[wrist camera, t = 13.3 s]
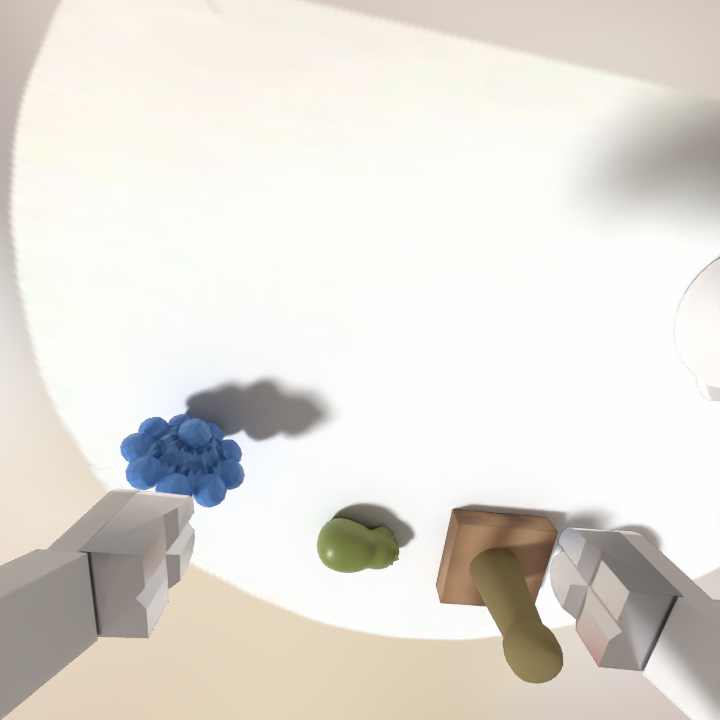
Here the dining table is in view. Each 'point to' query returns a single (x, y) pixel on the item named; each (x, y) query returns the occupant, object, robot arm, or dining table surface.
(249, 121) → the dining table surface
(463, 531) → the walnut block
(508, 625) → the pepper mill
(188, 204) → the dining table surface
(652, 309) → the dining table surface
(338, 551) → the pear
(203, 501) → the grapes
